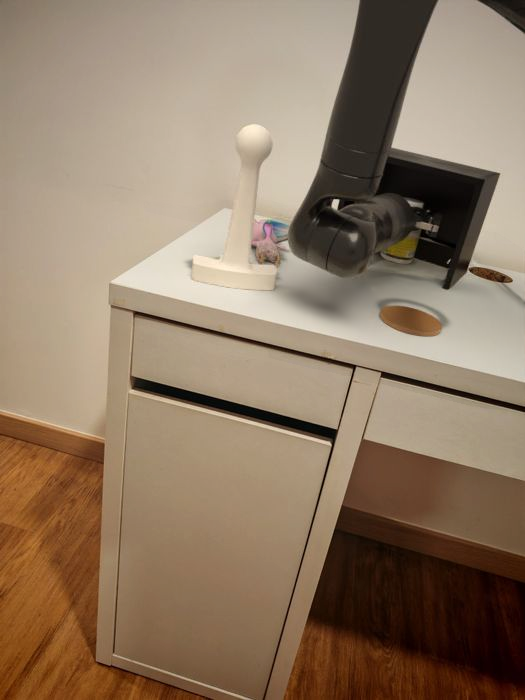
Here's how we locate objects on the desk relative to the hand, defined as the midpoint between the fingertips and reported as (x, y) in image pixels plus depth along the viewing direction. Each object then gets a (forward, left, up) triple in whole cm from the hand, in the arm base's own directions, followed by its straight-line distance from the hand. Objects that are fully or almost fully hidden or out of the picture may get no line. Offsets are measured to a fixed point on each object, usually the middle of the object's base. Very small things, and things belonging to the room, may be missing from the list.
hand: (413, 209), depth 96 cm
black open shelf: (0, 0, -9) cm, 9 cm away
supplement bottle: (+1, +2, -8) cm, 9 cm away
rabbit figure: (+24, +4, -9) cm, 27 cm away
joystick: (+29, +18, -9) cm, 36 cm away
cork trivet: (+6, +26, -9) cm, 29 cm away
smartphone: (+21, -7, -9) cm, 24 cm away
